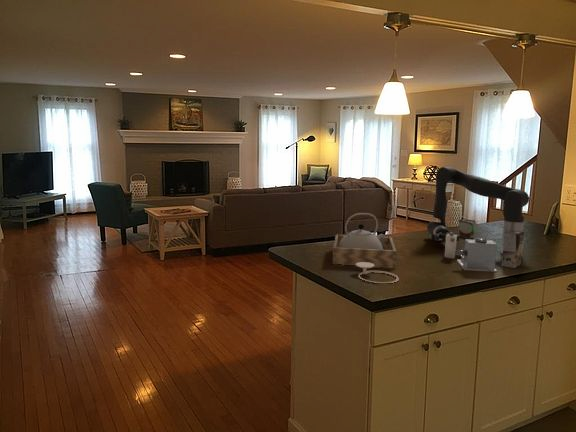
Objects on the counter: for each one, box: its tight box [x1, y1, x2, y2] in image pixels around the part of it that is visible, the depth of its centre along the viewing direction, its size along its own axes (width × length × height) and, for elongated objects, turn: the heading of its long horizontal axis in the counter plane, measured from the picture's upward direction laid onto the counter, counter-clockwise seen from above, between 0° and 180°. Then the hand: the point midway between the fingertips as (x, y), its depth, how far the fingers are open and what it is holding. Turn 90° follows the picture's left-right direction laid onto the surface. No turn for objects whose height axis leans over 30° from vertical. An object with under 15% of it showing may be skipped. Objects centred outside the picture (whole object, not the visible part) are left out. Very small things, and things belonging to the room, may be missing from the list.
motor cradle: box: [455, 237, 498, 273], centre depth 218 cm, size 17×17×14 cm
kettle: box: [338, 212, 386, 250], centre depth 228 cm, size 25×23×22 cm
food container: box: [458, 218, 478, 240], centre depth 284 cm, size 12×6×10 cm, turn 22°
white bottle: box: [444, 231, 457, 259], centre depth 234 cm, size 5×6×12 cm
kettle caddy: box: [332, 234, 397, 269], centre depth 229 cm, size 28×30×8 cm
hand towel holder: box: [356, 262, 400, 284], centre depth 198 cm, size 17×4×21 cm
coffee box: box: [501, 230, 525, 269], centre depth 221 cm, size 9×6×16 cm
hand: (446, 239), depth 244 cm, fingers open, 8 cm apart
